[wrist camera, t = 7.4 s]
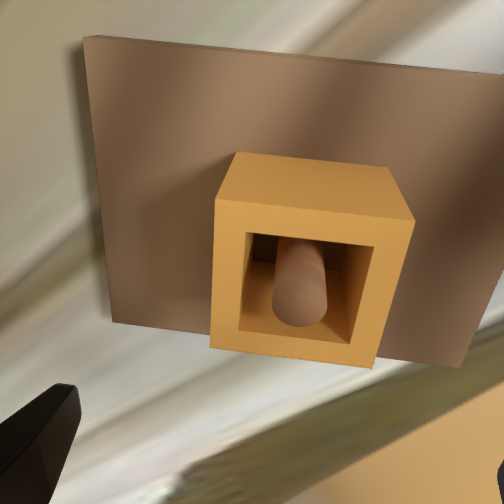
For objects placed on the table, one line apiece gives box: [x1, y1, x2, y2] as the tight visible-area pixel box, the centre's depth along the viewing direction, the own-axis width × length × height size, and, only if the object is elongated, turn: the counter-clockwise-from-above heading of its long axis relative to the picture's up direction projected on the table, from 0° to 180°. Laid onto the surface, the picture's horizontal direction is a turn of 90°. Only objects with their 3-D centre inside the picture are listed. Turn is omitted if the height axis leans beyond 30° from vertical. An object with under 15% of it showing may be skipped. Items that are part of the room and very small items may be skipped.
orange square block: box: [210, 152, 416, 369], centre depth 15 cm, size 5×5×4 cm
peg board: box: [82, 35, 504, 368], centre depth 15 cm, size 16×12×6 cm
